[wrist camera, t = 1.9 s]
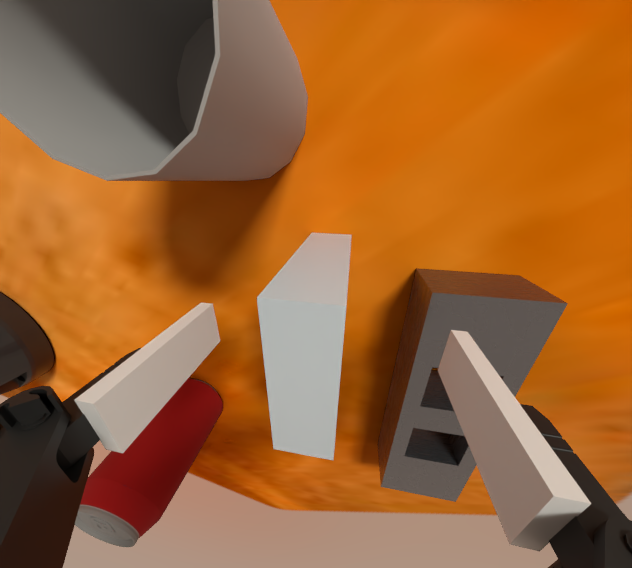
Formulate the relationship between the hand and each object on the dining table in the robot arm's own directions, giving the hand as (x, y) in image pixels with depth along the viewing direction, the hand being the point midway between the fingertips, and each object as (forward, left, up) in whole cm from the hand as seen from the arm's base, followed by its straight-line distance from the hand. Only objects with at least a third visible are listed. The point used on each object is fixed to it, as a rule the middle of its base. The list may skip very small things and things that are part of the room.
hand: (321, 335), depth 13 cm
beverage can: (-16, -16, -7) cm, 23 cm away
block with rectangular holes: (+10, -9, -7) cm, 15 cm away
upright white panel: (0, 0, -7) cm, 7 cm away
